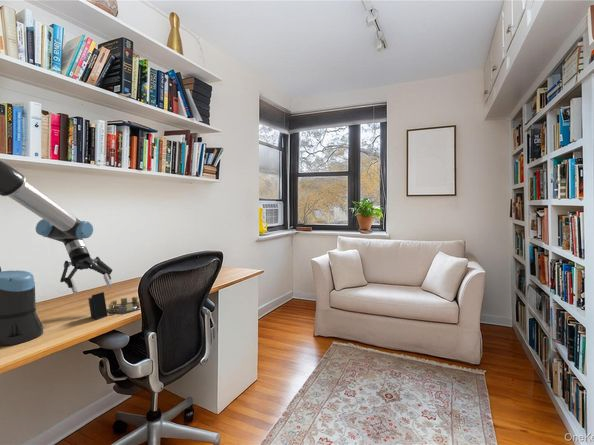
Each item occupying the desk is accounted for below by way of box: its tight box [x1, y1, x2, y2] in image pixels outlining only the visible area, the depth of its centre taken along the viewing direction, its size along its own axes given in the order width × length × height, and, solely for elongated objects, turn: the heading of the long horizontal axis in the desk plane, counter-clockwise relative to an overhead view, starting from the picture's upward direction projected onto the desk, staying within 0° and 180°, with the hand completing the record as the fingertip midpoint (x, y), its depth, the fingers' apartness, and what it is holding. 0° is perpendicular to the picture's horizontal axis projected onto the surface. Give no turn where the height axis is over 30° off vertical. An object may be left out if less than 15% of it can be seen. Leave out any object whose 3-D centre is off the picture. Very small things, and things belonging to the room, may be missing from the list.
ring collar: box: [107, 296, 141, 315], centre depth 148 cm, size 15×15×3 cm
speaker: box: [87, 291, 108, 321], centre depth 137 cm, size 8×6×10 cm
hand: (93, 289), depth 142 cm, fingers open, 13 cm apart
